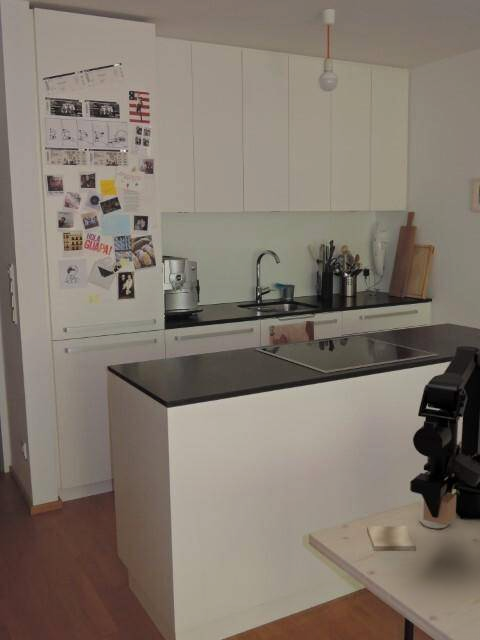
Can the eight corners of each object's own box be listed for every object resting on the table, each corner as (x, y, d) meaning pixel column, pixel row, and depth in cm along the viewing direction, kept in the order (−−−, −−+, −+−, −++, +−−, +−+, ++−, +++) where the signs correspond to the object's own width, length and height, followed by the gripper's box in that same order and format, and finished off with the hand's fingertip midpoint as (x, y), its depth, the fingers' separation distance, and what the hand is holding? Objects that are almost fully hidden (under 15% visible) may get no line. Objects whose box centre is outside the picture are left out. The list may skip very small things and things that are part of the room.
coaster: (405, 530, 151) (406, 526, 150) (415, 550, 142) (415, 546, 142) (367, 530, 151) (367, 526, 151) (374, 550, 142) (374, 546, 142)
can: (449, 530, 150) (452, 481, 148) (421, 528, 151) (422, 479, 150) (446, 518, 156) (448, 470, 155) (419, 516, 158) (420, 469, 156)
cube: (432, 510, 139) (432, 488, 138) (455, 516, 136) (456, 494, 135) (423, 519, 135) (424, 496, 134) (447, 526, 132) (448, 503, 131)
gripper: (467, 463, 121) (463, 542, 123) (496, 436, 136) (492, 506, 138) (410, 451, 127) (407, 525, 130) (443, 426, 142) (441, 493, 145)
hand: (439, 512), depth 135 cm, fingers closed on cube, 5 cm apart
